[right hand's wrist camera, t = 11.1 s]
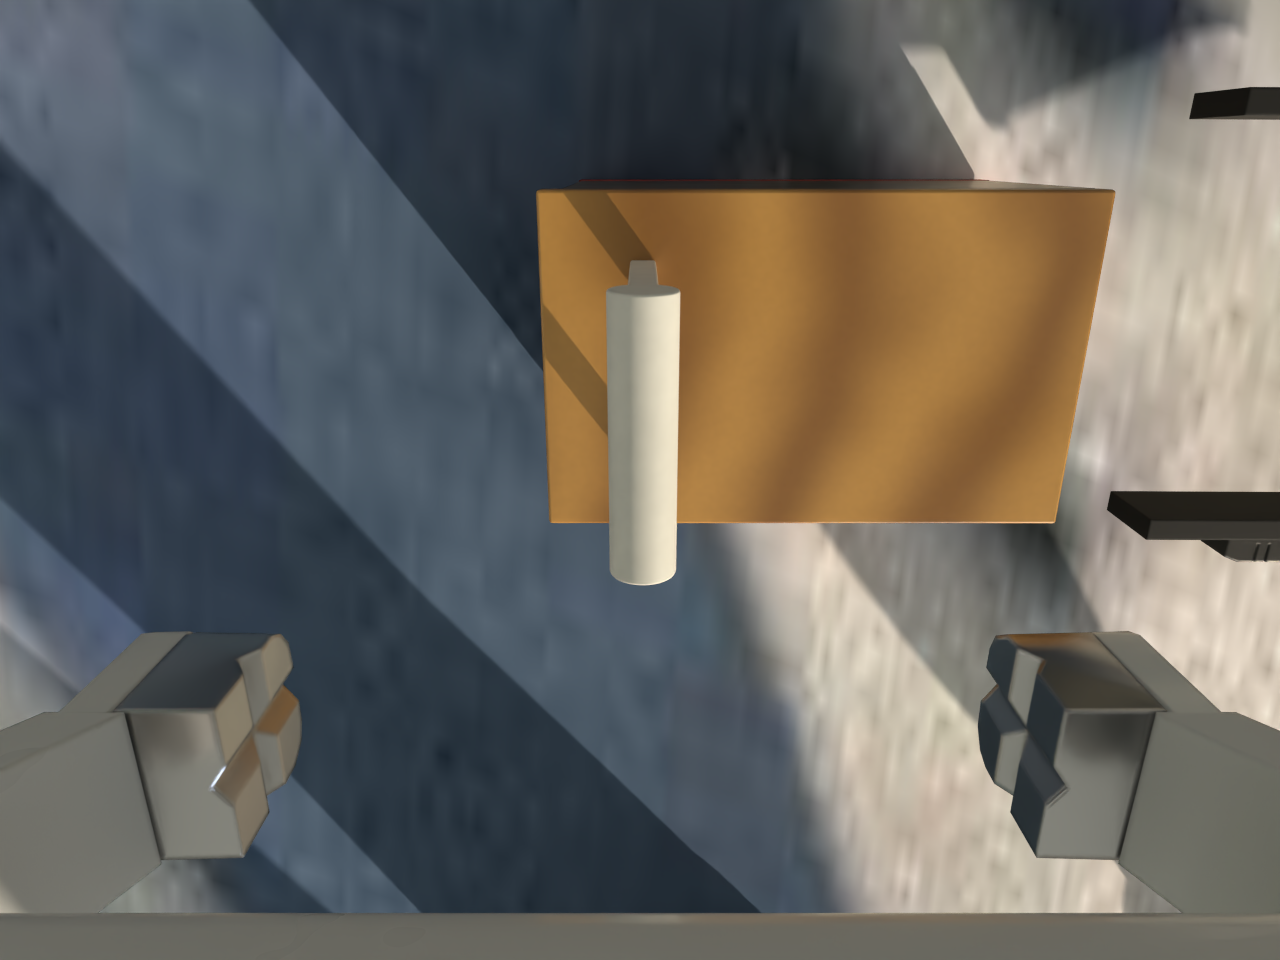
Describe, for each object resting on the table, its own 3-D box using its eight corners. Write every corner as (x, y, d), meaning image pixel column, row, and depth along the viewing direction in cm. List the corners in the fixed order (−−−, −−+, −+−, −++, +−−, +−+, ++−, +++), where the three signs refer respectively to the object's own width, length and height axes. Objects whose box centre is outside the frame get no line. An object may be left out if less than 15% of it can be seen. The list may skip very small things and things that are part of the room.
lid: (552, 512, 28) (516, 651, 20) (539, 188, 24) (490, 204, 16) (1043, 512, 27) (1200, 652, 20) (1100, 188, 24) (1317, 204, 16)
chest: (586, 426, 36) (568, 512, 28) (580, 179, 33) (558, 188, 24) (946, 426, 36) (1042, 512, 28) (978, 179, 33) (1099, 188, 24)
